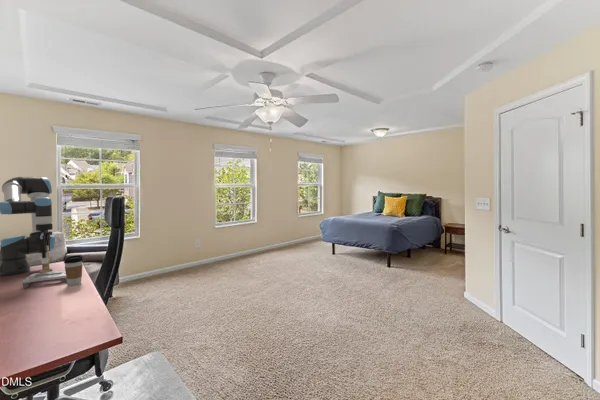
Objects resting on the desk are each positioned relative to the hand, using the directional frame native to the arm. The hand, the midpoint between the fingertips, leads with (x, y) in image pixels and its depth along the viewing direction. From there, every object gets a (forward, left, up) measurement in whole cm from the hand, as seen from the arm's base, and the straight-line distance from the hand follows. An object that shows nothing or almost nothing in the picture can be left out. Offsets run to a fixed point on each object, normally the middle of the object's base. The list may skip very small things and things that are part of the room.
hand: (45, 262), depth 176 cm
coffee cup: (+27, +18, -9) cm, 34 cm away
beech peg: (0, 0, -6) cm, 6 cm away
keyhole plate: (+13, +5, -9) cm, 17 cm away
